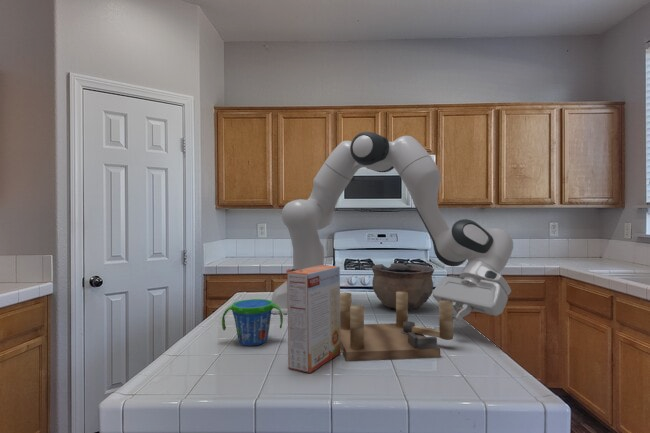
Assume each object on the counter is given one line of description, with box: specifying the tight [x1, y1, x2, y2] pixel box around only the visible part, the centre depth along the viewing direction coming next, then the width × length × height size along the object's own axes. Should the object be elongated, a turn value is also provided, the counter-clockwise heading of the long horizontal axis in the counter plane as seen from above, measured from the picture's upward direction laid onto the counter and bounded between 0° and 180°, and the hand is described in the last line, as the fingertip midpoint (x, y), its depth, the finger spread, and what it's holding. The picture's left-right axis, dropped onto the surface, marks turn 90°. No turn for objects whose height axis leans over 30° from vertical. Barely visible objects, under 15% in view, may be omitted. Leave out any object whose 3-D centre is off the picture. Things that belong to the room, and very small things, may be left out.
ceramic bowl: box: [371, 262, 435, 310], centre depth 137 cm, size 22×22×15 cm
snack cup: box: [221, 298, 284, 347], centre depth 98 cm, size 16×11×10 cm
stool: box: [340, 292, 441, 362], centre depth 97 cm, size 22×22×11 cm
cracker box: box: [286, 264, 342, 374], centre depth 85 cm, size 14×6×21 cm, turn 149°
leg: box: [403, 301, 454, 341], centre depth 97 cm, size 13×3×9 cm, turn 51°
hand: (453, 319), depth 98 cm, fingers closed
